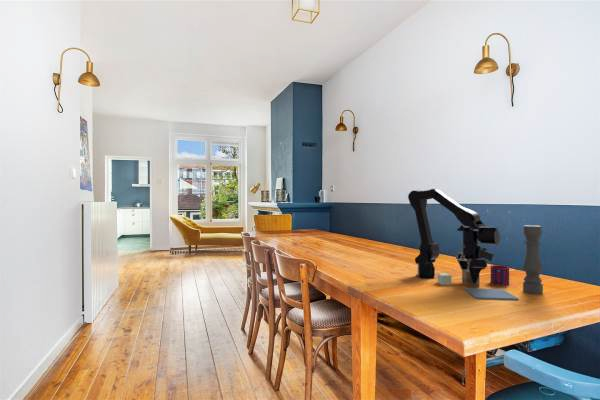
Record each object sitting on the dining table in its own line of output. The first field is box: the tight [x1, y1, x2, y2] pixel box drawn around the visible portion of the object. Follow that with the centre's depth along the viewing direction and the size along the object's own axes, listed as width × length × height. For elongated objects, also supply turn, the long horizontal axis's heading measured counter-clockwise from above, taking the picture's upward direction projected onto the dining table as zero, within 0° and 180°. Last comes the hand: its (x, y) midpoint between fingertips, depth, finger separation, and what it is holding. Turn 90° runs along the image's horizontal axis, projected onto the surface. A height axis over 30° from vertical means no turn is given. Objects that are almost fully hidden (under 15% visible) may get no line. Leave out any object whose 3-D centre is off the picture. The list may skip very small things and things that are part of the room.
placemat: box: [463, 287, 519, 301], centre depth 125 cm, size 14×12×1 cm
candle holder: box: [522, 224, 544, 296], centre depth 128 cm, size 6×6×25 cm
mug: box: [490, 264, 510, 286], centre depth 141 cm, size 7×10×7 cm
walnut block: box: [461, 269, 480, 288], centre depth 139 cm, size 5×5×6 cm
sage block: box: [437, 272, 452, 286], centre depth 142 cm, size 4×4×4 cm
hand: (470, 280), depth 139 cm, fingers open, 9 cm apart
